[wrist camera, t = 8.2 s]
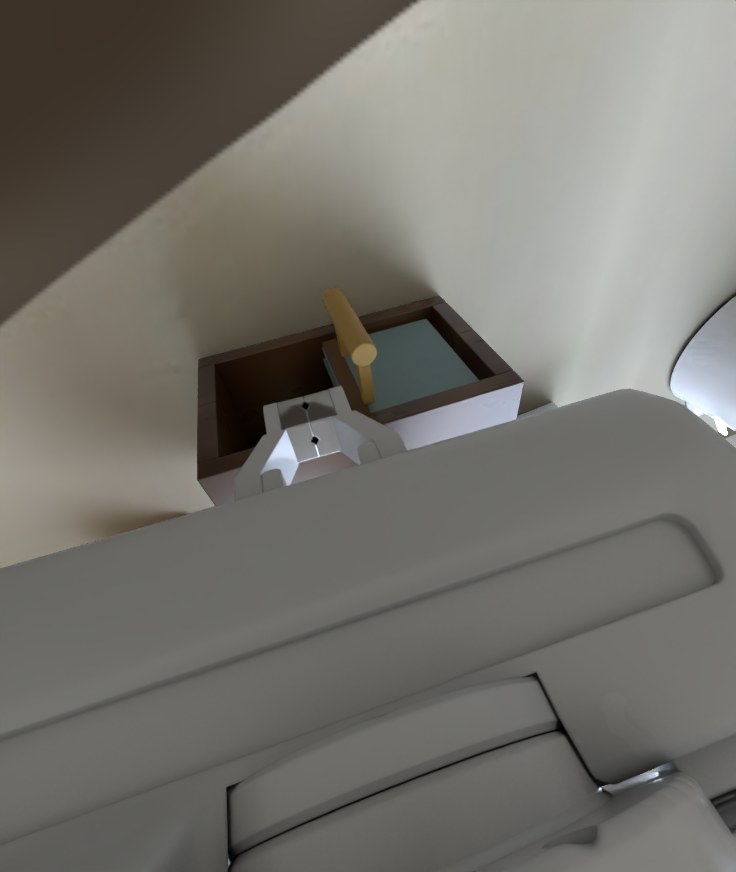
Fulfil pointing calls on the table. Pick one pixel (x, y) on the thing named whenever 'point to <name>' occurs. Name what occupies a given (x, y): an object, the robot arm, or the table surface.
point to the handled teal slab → (388, 360)
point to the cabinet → (309, 373)
